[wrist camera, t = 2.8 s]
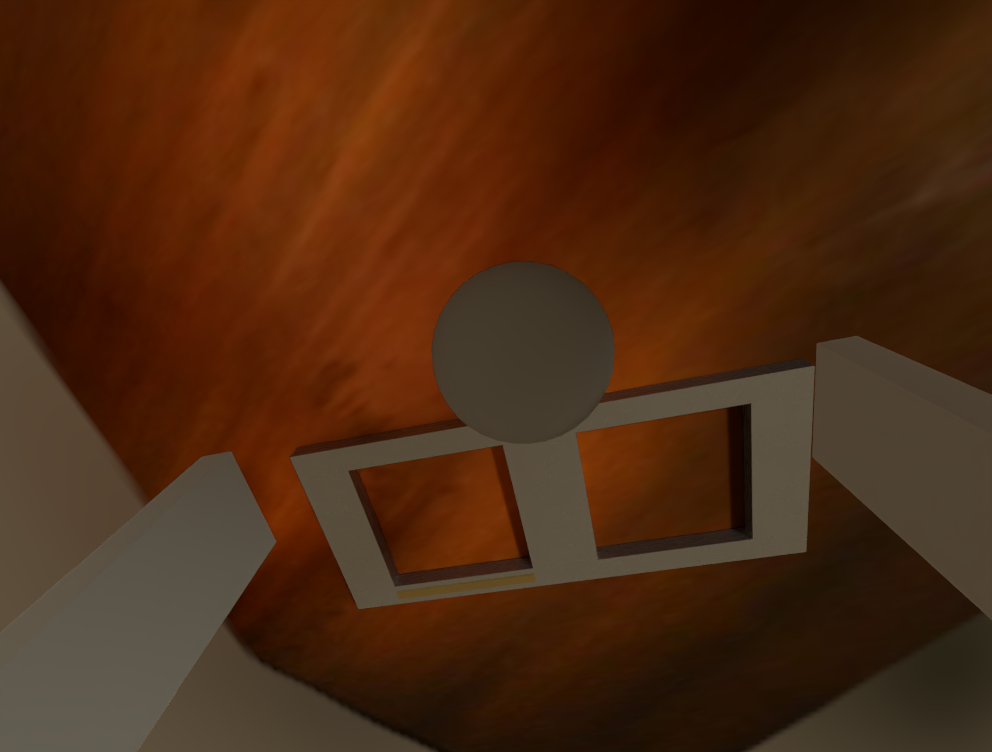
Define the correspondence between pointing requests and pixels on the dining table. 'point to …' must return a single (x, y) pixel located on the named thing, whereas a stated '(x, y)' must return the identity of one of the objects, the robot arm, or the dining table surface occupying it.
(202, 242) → the dining table surface
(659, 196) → the dining table surface
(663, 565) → the grey window frame
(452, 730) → the dining table surface
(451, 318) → the lightbulb
